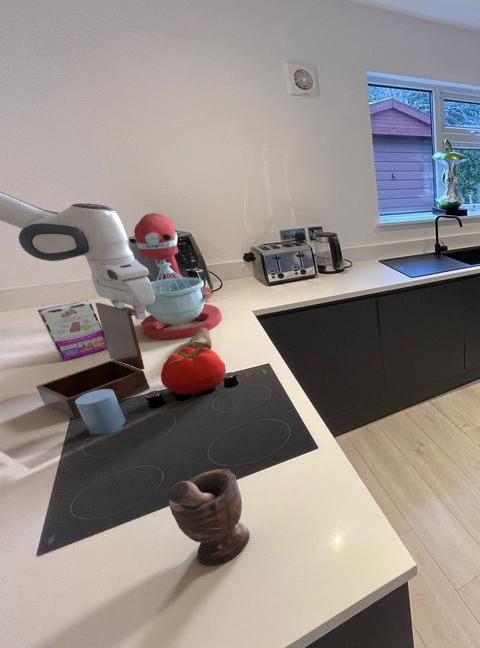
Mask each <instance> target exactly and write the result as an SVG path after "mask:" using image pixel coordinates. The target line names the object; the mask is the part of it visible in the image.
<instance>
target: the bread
mask: <svg viewBox="0 0 480 648" xmlns="http://www.w3.org/2000/svg"><path fill="white" fill-rule="evenodd" d="M212 346H213V345H212V339H211V334H210V330H208V329H206V328H200V329H198V330H197V331H196V332H195V333H194V335H193V336H191V337H190V340H189V342H188V344H187V345H186V347H189V348H194V349H198V348H199V349H200V347H201V348H208V349H210V350H212Z"/></svg>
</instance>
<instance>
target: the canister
mask: <svg viewBox="0 0 480 648" xmlns="http://www.w3.org/2000/svg"><path fill="white" fill-rule="evenodd" d="M75 404H76V406H77V408H78V410H79V412H80V414H81V416H82V417H81V418H82V421H83V423H84V425H85V427H86V429H87V431H88V433H89V434H91V435H100V436H98V437H99V438H101V437H106V436H109V435H112V434H115V433H117V432H119V431H121V430H123V428H125V427H126V426H127V423H126V421H127V419H126V417H125V415H124V413H123V410H122V408H121V405H120V403H119V401H118V400H117V398H116V396H115V393H114V391H113V390H111V389H102V390H96V391H93V392H89V393H87V394H84V395H82V396H80V397H79V398H78V399H76V401H75Z"/></svg>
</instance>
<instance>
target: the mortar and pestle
mask: <svg viewBox="0 0 480 648" xmlns="http://www.w3.org/2000/svg"><path fill="white" fill-rule="evenodd" d="M241 495H242V494H241V490H240V488H239V484H238V481H237V477H236V475H235V474H234V472H232V471H231V470H230V469H226V468H223V469H221V468H219V469H212V470H209V471H205V472H203V473H202V472H201V473H200V474H199V475H196V476H193V477H191V478H190V479H189V480H182V481H179V482H176V483H174V484H173V485H171V487H169V489H168V492H167V497H168V499H169V500H168V501H169V502H168V506H169V509H170V513H171V515H172V516H173V518H174V519H175V522H176V524H177V526H178V528H179V529H180V530H181V532H182V533H183V534H184V535H185V536H186V537H188V538H189V539H190V540H191V541H193V542H196V543H200V544H199V545H198V549H197V555H196V559H197V561H198V562H199V564H201V565H205V566H216V565H221V564H223V563H226V562H228V561H231V560H233V559H234V558H235V557H237V556H238V555H239V554H240V553H241V551H244V548H245V547H246V546H247V544H248V542H249V541H250V537H251V535H250V530H249V529H248V527H247V526H246V525H245V524H244V523H241V522H240V520H241V516H242V513H243V512H242V510H243V500H242V496H241Z"/></svg>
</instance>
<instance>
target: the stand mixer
mask: <svg viewBox="0 0 480 648" xmlns="http://www.w3.org/2000/svg"><path fill="white" fill-rule="evenodd" d="M175 227H176V226H175V224H174V223H173V220H171V219H170V218H169V217H168V216H166V215H164V214H162V213H161V214H160V213H158V212H151V213H148V214H145V215H144V216H142V217H141V218H140V219H139V221H138V222H137V224H135V226H134V230H133V233H134V237H135V238H130V239H129V242H130V243H131V244H136V246H137V248H138V250H139V252H140V255H141V256H142V257H143V258H148V259H150V260H156V261H157V264H156V267H158V269H159V271H158V275H157V277H156V279H155V280H154V281H150V283H151V286H152V289H153V293H154V297H155V302H154V304H152V305H148V306H146V307H145V312H146V313H148V314H149V315H148V316H146V318H145V319H142V320H141V322H140V326H141V330H142V333H143V335H144V336H145V337H147V338H150V339H153V340H162V341H163V340H164V341H165V340H178V339H185V338H189V337H190V338H191V337H193V335H194V333H195V332H196V331H197V330H198V329H200V328H206V329H208V330H209V331H210V330H212V329H213V328H215V327H217V326H218V325H219V324H220V323H221V321H223V320H222V319H223V317H222V312H221V309H220V308H218V307H217V306H215V305H211V304H207V303H206V301H208V300H209V299H211V298H212V290H211V288H209V287H208V286H205V283H204V280H203V279H202V278H200V277H199V278H198V277H188V276H187V277H184V276H183V275H182V274H181V272H180V269H179V266H178V263H177V260H176V256H175V255H178V253H179V249H178V233H177V231H175ZM192 321H202V322H199V323H197V324H194V325H189V326H186V327H185V326H184V327H180V328H173V329H164V328H166V327H169V326H171V325H184V324H187V323H190V322H192Z"/></svg>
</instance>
